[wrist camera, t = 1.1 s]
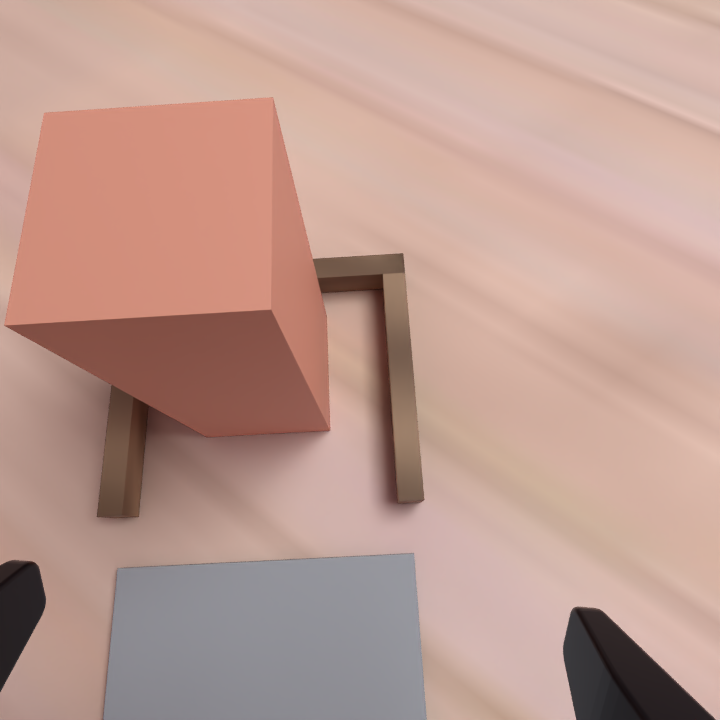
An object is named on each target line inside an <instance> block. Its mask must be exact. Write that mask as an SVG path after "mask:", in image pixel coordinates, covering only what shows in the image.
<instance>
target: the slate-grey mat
mask: <svg viewBox="0 0 720 720" xmlns="http://www.w3.org/2000/svg"><path fill="white" fill-rule="evenodd" d="M103 720H427V718H426V705H425V692H424V679H423V666H422V653H421V640H420V627H419V614H418V600H417V587H416V574H415V561H414V553H410V554H390V555H370V556H350V557H330V558H310V559H290V560H270V561H250V562H230V563H210V564H190V565H170V566H150V567H130V568H118V570H117V580H116V591H115V601H114V612H113V622H112V632H111V643H110V653H109V664H108V674H107V685H106V695H105V706H104V716H103Z"/></svg>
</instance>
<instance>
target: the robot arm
mask: <svg viewBox="0 0 720 720" xmlns="http://www.w3.org/2000/svg"><path fill="white" fill-rule="evenodd" d="M45 604H46V596H45V592H44V587H43V583H42V579H41V574H40V570H39V567H38V565H37V564H36V563H34V562H31V561H19V560H12V561H8V562H6V563H4V564H2V565H0V691H1V690H2V688H3V686H4V684H5V682H6V680H7V679H8V677H9V675H10V673H11V671H12V669H13V667H14V666H15V664H16V662H17V660H18V658H19V656H20V655H21V653H22V651H23V649H24V647H25V645H26V644H27V642H28V640H29V638H30V636H31V634H32V633H33V631H34V629H35V627H36V625H37V623H38V621H39V620H40V618H41V616H42V614H43V611H44V608H45ZM563 655H564V662H565V667H566V672H567V677H568V682H569V686H570V691H571V696H572V701H573V706H574V711H575V715H576V720H716V719H715V718H714V717H713V716H711V715H710V714H709V713H708V712H707V711H706V710H705V709H704V708H703V707H702V706H701V705H700V704H699V703H698V702H697V701H696V700H695V699H694V698H693V697H692V696H691V695H690V694H689V693H688V692H686V691H685V690H684V689H683V688H682V687H681V686H680V685H679V684H678V683H677V682H676V681H675V680H674V679H673V678H672V677H671V676H670V675H669V674H668V673H667V672H666V671H665V670H664V669H662V668H661V667H660V666H659V665H658V664H657V663H656V662H655V661H654V660H653V659H652V658H651V657H650V656H649V655H648V654H647V653H646V652H645V651H644V650H643V649H642V648H641V647H640V646H639V645H637V644H636V643H635V642H634V641H633V640H632V639H631V638H630V637H629V636H628V635H627V634H626V633H625V632H624V631H623V630H622V629H621V628H620V627H619V626H618V625H617V624H616V623H615V622H613V621H612V620H611V619H610V618H609V617H608V616H607V615H606V614H605V613H604V612H603V611H601V610H600V609H597V608H587V607H575V608H573V609H572V611H571V614H570V618H569V622H568V627H567V631H566V635H565V640H564V645H563Z"/></svg>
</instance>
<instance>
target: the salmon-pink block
mask: <svg viewBox="0 0 720 720" xmlns="http://www.w3.org/2000/svg"><path fill="white" fill-rule="evenodd" d="M4 326H6V327H8V328H10V329H12V330H13V331H15V332H17V333H19V334H21V335H22V336H24V337H26V338H28V339H30V340H31V341H33V342H35V343H37V344H39V345H41V346H42V347H44V348H46V349H48V350H50V351H51V352H53V353H55V354H57V355H59V356H60V357H62V358H64V359H66V360H68V361H70V362H71V363H73V364H75V365H77V366H79V367H80V368H82V369H84V370H86V371H88V372H90V373H91V374H93V375H95V376H97V377H99V378H100V379H102V380H104V381H106V382H108V383H109V384H111V385H113V386H115V387H117V388H119V389H120V390H122V391H124V392H126V393H128V394H129V395H131V396H133V397H135V398H137V399H138V400H140V401H142V402H144V403H146V404H148V405H149V406H151V407H153V408H155V409H157V410H158V411H160V412H162V413H164V414H166V415H167V416H169V417H171V418H173V419H175V420H177V421H178V422H180V423H182V424H184V425H186V426H187V427H189V428H191V429H193V430H195V431H196V432H198V433H200V434H202V435H204V436H206V437H220V436H238V435H256V434H275V433H293V432H311V431H329V430H330V408H329V375H328V341H327V315H326V311H325V307H324V303H323V299H322V295H321V291H320V287H319V283H318V279H317V275H316V270H315V266H314V262H313V258H312V254H311V250H310V246H309V242H308V238H307V234H306V230H305V226H304V222H303V218H302V214H301V210H300V205H299V201H298V197H297V193H296V189H295V185H294V181H293V177H292V173H291V169H290V165H289V161H288V157H287V153H286V149H285V144H284V140H283V136H282V132H281V128H280V124H279V120H278V116H277V112H276V108H275V104H274V100H273V97H271V98H256V99H242V100H227V101H212V102H197V103H183V104H168V105H153V106H138V107H123V108H109V109H94V110H79V111H64V112H50V113H44V116H43V122H42V127H41V132H40V138H39V143H38V148H37V154H36V159H35V164H34V170H33V175H32V180H31V186H30V191H29V196H28V202H27V207H26V212H25V218H24V223H23V228H22V234H21V239H20V244H19V250H18V255H17V260H16V266H15V271H14V276H13V282H12V287H11V292H10V298H9V303H8V308H7V313H6V319H5V324H4Z"/></svg>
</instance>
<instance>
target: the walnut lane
mask: <svg viewBox="0 0 720 720" xmlns="http://www.w3.org/2000/svg"><path fill="white" fill-rule="evenodd" d="M313 262H314V266H315V270H316V275H317V279H318V283H319V287H320V291H321V293H322V292H339V291H355V290H372V289H383V300H384V314H385V329H386V343H387V358H388V372H389V387H390V401H391V416H392V430H393V445H394V459H395V474H396V488H397V503H411V502H422V501H423V500H424V491H423V479H422V468H421V456H420V444H419V432H418V421H417V409H416V397H415V386H414V374H413V362H412V350H411V339H410V327H409V315H408V303H407V292H406V280H405V268H404V257H403V253H401V254H385V255H369V256H352V257H336V258H320V259H313ZM147 414H148V404H146V403H144V402H142V401H140V400H138V399H137V398H135V397H133V396H131V395H129V394H128V393H126V392H124V391H122V390H120V389H119V388H117V387H115V386H113V385H112V386H111V395H110V404H109V413H108V422H107V431H106V440H105V449H104V458H103V467H102V476H101V485H100V494H99V503H98V512H97V517H109V518H122V517H139V507H140V495H141V484H142V472H143V461H144V449H145V437H146V426H147Z"/></svg>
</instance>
